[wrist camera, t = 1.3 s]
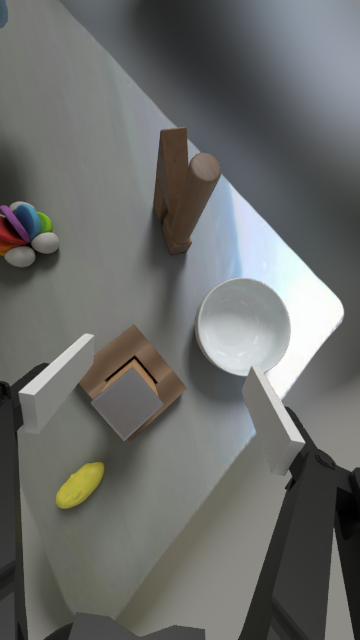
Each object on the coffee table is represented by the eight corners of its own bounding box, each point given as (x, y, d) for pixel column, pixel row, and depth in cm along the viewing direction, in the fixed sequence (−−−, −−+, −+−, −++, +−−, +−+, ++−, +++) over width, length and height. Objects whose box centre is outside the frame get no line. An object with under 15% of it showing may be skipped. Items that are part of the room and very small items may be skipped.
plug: (110, 375, 34) (90, 403, 20) (135, 355, 35) (132, 367, 21) (130, 399, 34) (124, 441, 20) (154, 378, 35) (163, 404, 22)
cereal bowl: (265, 289, 41) (290, 280, 35) (266, 369, 40) (293, 375, 33) (188, 284, 38) (198, 272, 31) (186, 370, 37) (197, 378, 30)
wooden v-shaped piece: (169, 200, 39) (194, 88, 21) (187, 251, 39) (228, 181, 21) (152, 204, 38) (162, 90, 20) (170, 256, 38) (197, 187, 20)
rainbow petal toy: (-15, 233, 32) (-59, 204, 25) (41, 206, 34) (14, 172, 27) (17, 276, 32) (-17, 259, 25) (70, 247, 34) (52, 224, 27)
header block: (77, 370, 33) (70, 374, 29) (134, 325, 35) (134, 324, 32) (130, 431, 34) (129, 442, 30) (182, 383, 36) (187, 388, 33)
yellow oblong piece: (54, 483, 31) (42, 503, 27) (99, 448, 33) (94, 463, 29) (69, 504, 31) (59, 527, 27) (113, 469, 33) (110, 486, 29)
